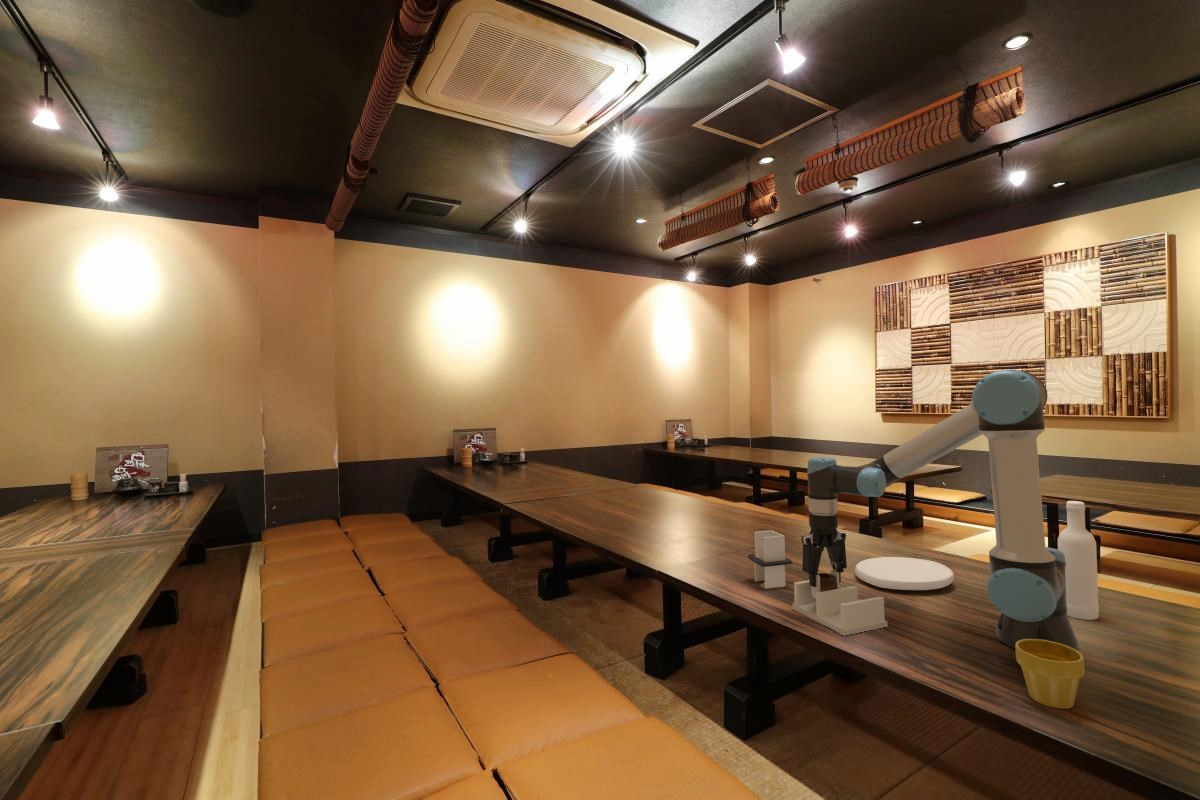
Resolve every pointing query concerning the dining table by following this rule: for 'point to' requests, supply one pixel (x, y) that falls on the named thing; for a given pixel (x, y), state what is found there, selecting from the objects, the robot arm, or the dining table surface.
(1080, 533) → the bottle
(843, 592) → the slot rack
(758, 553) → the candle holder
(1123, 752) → the dining table surface
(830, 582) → the utensil holder
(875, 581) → the plate
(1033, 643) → the plant pot
